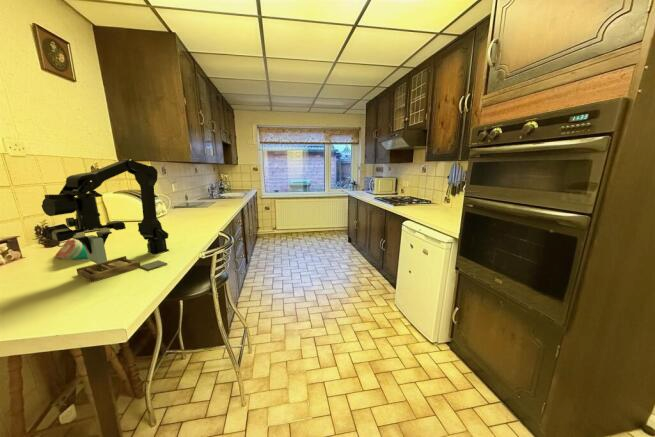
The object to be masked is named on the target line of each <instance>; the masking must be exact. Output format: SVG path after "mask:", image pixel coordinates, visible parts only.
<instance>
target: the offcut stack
mask: <svg viewBox="0 0 655 437" xmlns="http://www.w3.org/2000/svg"><path fill="white" fill-rule="evenodd" d="M126 264H129V263H127V262H123V261H117V262H114V263H110V264H108V267H110V268H116V267H119V266H123V265H126Z"/></svg>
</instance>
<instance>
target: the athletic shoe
mask: <svg viewBox="0 0 655 437" xmlns="http://www.w3.org/2000/svg"><path fill="white" fill-rule="evenodd" d="M55 258H60V259H63V260H65V259H66V260H73V261H87V260H88V257H87V252H86V248H85V247H84V245H83V244H82V243H81V242H80V241H79V240H76V239H73V238H71V239H66V241H65V243H64V244H63V245H62V247H60V249H59V250H58V251H57V252H56V253H55ZM88 261H89V260H88Z"/></svg>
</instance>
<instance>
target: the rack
mask: <svg viewBox="0 0 655 437" xmlns="http://www.w3.org/2000/svg"><path fill="white" fill-rule="evenodd" d="M117 261H123V262H127V263H129V264H126V265H123V266H119V267H116V268H110V267H108V264H110V263H114V262H117ZM140 266H141V262H140V260H137V261H133V260H131V259H128V258H127V256H126V255H125V256H121V257H120V256H119V257H116V258H113V259H109V260H108V259H107V262H105V263H101V264H97V263H93V264H89V265H85V266H81V267H78V268H76V273H77V276H79V277H82V279H84V280H87V281H88V282H90V283H93V282H97V281H100V280H103V279H106V278H109V277H112V276H113V277H114V276H116V275H120V274H122V273H123V274H124V273H126V272H130V271H133V270H136V269H139V268H140ZM99 270H101V271H99Z"/></svg>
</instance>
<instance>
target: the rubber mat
mask: <svg viewBox="0 0 655 437" xmlns="http://www.w3.org/2000/svg"><path fill="white" fill-rule="evenodd" d="M167 265H168V262H165V261H161V260H159V259H158V260H154V261H152V262H148V263H145V264H140V267H139V268H141V269H143V270H146V271H152V270H155V269H158V268H162V267H165V266H167Z"/></svg>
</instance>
